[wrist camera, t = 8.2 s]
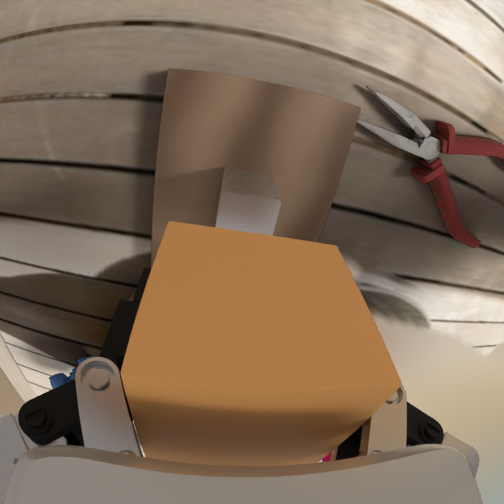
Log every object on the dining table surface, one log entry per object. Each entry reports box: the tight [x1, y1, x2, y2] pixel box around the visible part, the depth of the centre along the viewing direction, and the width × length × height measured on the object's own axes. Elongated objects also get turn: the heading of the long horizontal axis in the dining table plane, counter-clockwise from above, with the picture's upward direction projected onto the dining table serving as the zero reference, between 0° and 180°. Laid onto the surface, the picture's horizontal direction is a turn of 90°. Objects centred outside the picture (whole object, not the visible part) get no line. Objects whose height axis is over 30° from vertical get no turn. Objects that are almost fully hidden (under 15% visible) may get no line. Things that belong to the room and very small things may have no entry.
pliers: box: [357, 86, 504, 248], centre depth 21 cm, size 11×20×3 cm, turn 67°
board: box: [151, 68, 361, 268], centre depth 20 cm, size 13×16×6 cm
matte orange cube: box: [120, 221, 402, 466], centre depth 9 cm, size 6×6×6 cm
